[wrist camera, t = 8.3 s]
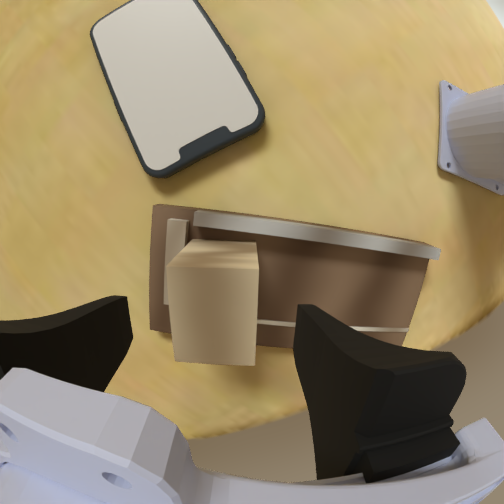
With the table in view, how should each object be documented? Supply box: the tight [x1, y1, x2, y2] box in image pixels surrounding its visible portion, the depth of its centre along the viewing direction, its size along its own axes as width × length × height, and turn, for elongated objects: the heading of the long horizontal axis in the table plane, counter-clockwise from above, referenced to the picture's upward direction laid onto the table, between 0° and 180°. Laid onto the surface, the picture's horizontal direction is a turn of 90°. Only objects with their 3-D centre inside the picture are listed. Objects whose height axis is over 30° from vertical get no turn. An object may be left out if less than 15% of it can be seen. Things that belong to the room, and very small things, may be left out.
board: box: [149, 204, 441, 348], centre depth 18 cm, size 20×9×2 cm, turn 82°
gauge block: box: [166, 239, 259, 366], centre depth 15 cm, size 4×5×6 cm
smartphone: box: [90, 0, 265, 178], centre depth 15 cm, size 9×2×16 cm
